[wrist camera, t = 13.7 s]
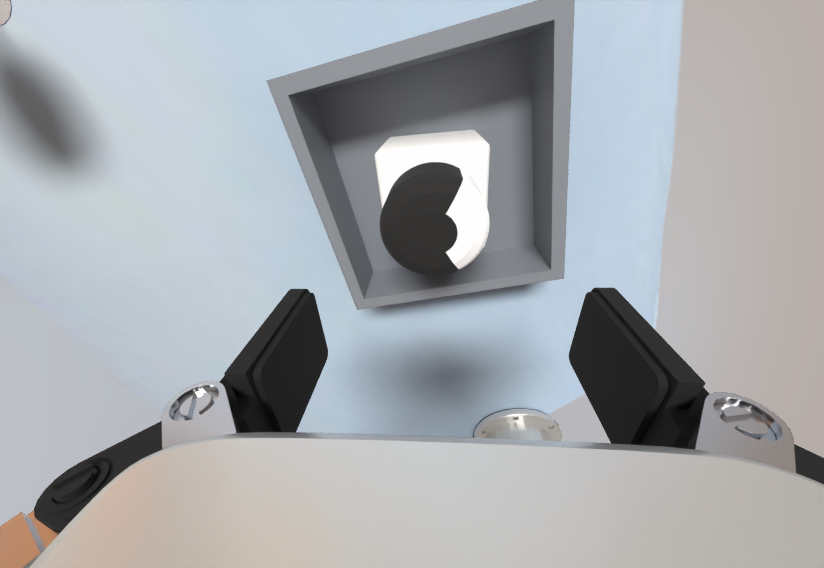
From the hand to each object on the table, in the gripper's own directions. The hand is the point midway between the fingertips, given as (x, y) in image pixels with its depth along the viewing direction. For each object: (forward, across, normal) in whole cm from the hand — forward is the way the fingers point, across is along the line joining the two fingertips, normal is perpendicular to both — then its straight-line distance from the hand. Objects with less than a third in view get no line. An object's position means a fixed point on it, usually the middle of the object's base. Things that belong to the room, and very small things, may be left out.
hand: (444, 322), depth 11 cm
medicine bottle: (+19, 0, -1) cm, 19 cm away
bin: (+20, 0, -1) cm, 20 cm away
